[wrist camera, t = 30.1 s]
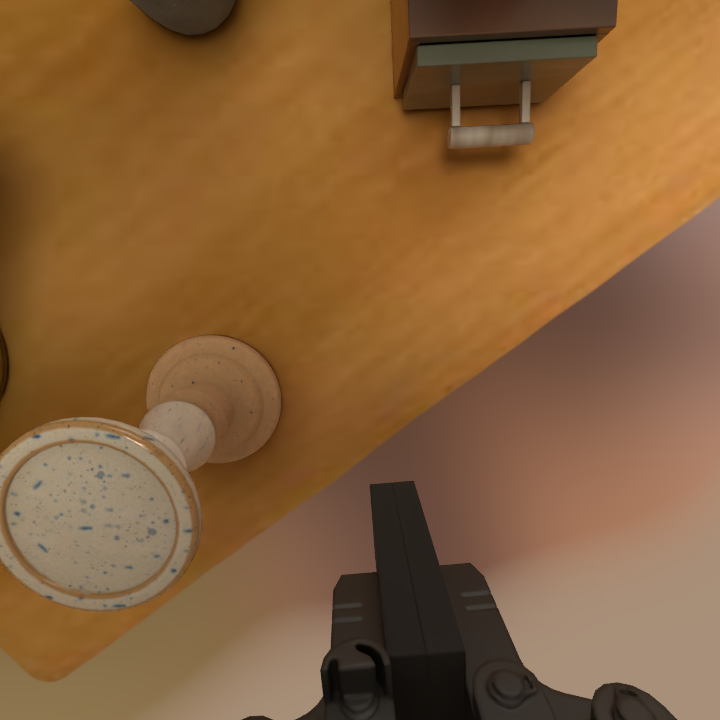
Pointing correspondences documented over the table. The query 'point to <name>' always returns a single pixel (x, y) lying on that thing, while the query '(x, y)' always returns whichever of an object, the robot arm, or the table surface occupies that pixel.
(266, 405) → the candle holder
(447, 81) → the drawer
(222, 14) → the bottle
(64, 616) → the table surface
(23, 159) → the table surface
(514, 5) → the cabinet
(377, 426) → the table surface
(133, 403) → the table surface
